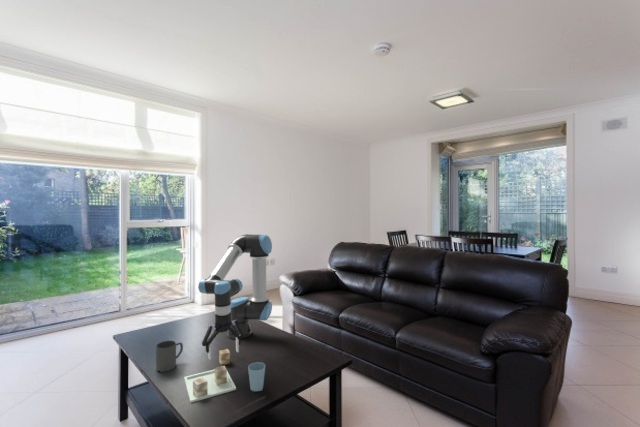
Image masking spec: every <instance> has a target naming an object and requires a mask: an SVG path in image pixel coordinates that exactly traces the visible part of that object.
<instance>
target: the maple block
mask: <svg viewBox="0 0 640 427" xmlns="http://www.w3.org/2000/svg"><path fill="white" fill-rule="evenodd" d="M193 395H194V396H195V397H196V398H197V397H201V396H204V395H208V381H207V380H206V379H205V378H204V377H202V378H199V379H197V380H194V381H193Z"/></svg>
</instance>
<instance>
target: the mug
mask: <svg viewBox="0 0 640 427" xmlns="http://www.w3.org/2000/svg"><path fill="white" fill-rule="evenodd" d="M177 346H180V351H179V352H178V353H177ZM155 349H156V350H155V366H156V367H155V370H156V371H157V372H159V371H160V372H159V373H165V371H166V372H169V371H172V370H174V369H175V368H176V366H177V359H178V358H179V357H180V356H181V354H182V352H183V350H184V344H183V342H176V341H175V340H165V341H161V342H159V343H157V344H156V347H155Z"/></svg>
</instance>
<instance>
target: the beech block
mask: <svg viewBox="0 0 640 427" xmlns="http://www.w3.org/2000/svg"><path fill="white" fill-rule="evenodd" d="M214 369H215V383H216V385H220V384H224V383H227V372H228V370H227V368H226V366H225V365H221V366H217V367H214Z"/></svg>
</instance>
